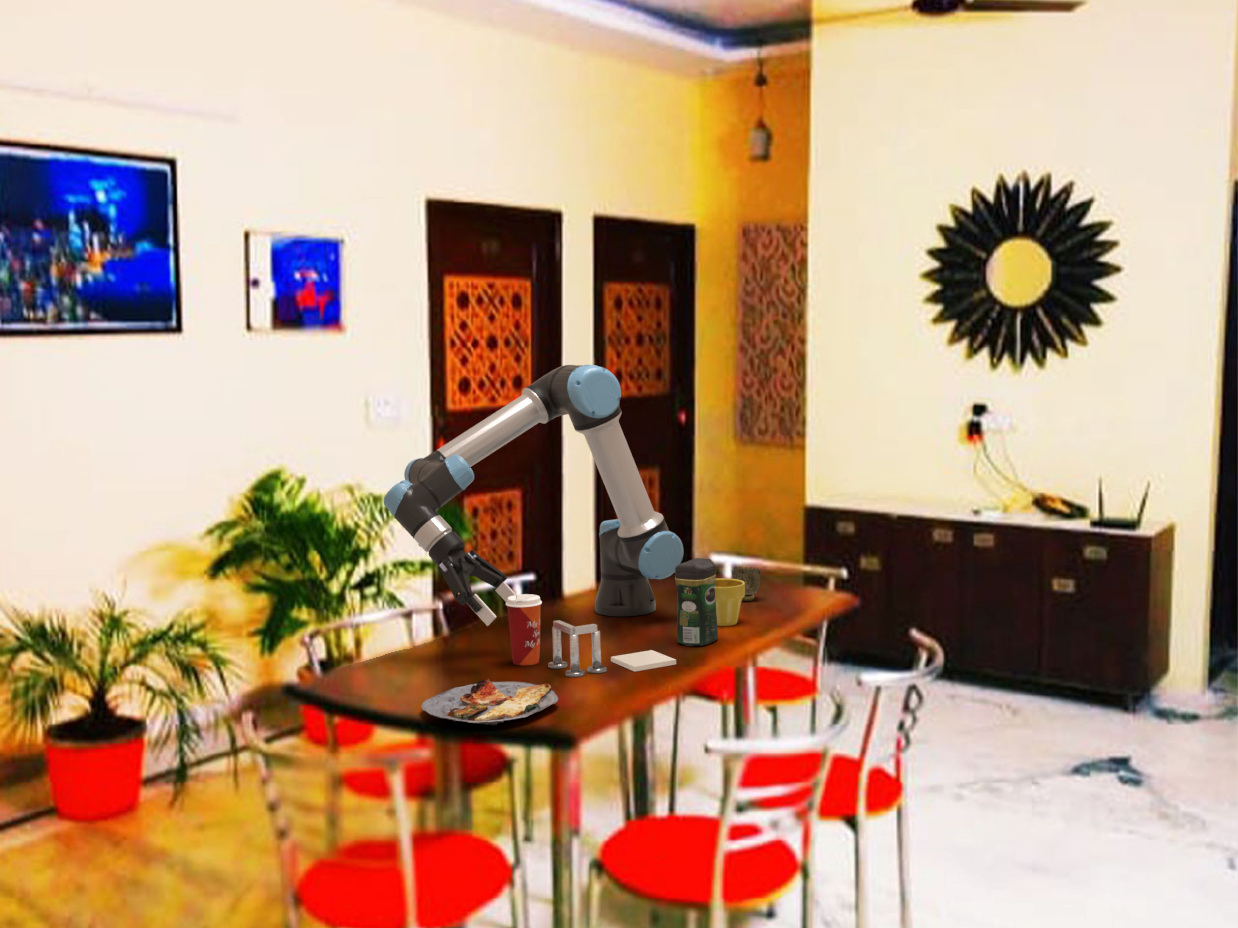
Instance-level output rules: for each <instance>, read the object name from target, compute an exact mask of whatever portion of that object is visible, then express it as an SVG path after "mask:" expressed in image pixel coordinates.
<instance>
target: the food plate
mask: <svg viewBox="0 0 1238 928" xmlns="http://www.w3.org/2000/svg"><path fill="white" fill-rule="evenodd" d="M559 699H560V698H559V696H558V695H557V693H556V691H555V690H553V689H552V685H551V684H550V683H544V684H536V683H535V684H534V683H531V682H525V681H513V680H511V681H509V680H508V681H491V679H490V678H487V680H485V679H480V680H478V681H477V682H476V683H473V684H471V683H470V684H467V685H464V686H458V687H457V686H456V687H452V688H450V689H447V690H445V691H443V692H440V693H438V694H436V695H433V696H432V697H430V698H427V699H425V700H424V701H423V702H422V704H421V709H422V711H423V712H426V713H428V714H429V715H431V716H433V717H436V718H440V719H447V720H449V721H451V720H452V721H453V722H457V721H458V722H465V723H468V724H469V723H471V724H478V725H487V726H488V725H491V726H494V725H498V724H499V723H504V721H512V720H518V719H523V718H527V717H529V716H530V715H533V714H535V713H538V712H541V711H543V710H544V709H546V708H548V707H550V706H551V705H553V704H554V705H555V704H556V703H557V702H558V701H559ZM451 710H453V711H452V712H453V714H451V713H452V712H451ZM449 714H451V715H452V716H451V715H449ZM470 719H471V720H470ZM472 719H473V720H472Z"/></svg>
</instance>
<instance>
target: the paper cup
mask: <svg viewBox="0 0 1238 928" xmlns="http://www.w3.org/2000/svg"><path fill="white" fill-rule="evenodd" d="M542 603H543V601H542V600H541V597H540V595H537V594H532V593H531V594H529V593H523V594H521V593H520V594H516V595H513V596H510V597H508V599H507V602H505V606H506V607H507V609H506V610H507V617H508V627H509V628H508V629H509V638H510V649H511V657H512V663H513V665H516V666H523V667H524V666H527V667H528V666H533V665H537V664H539V663H540V655H541V654H540V653H541V652H540V650H541V649H540V648H541V612H542V611H541V609H542Z"/></svg>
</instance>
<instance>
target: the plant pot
mask: <svg viewBox="0 0 1238 928" xmlns="http://www.w3.org/2000/svg"><path fill="white" fill-rule="evenodd" d="M744 596H745V583H744V582H743V581H741V580H737V579H733V578H716V580H715V599H716V615H717V626H718V627H730V626H735V625H737V623H738V621H739V615H740V611H741V605H742V598H743V597H744Z"/></svg>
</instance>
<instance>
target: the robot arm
mask: <svg viewBox="0 0 1238 928" xmlns="http://www.w3.org/2000/svg"><path fill="white" fill-rule="evenodd" d="M621 398H622V388H621V385H620V382H619V380H618V378H617V377H616V375H614V373H612V372H611V371H610V370H609V369H607V368H605V367H603V366H598V365H596V364H595V365H594V364H584V365H583V364H581V365H579V364H578V365H577V364H565V365H561V366H559V367H556V368H555V369H552V370H551V371H549V372H547V373H546V374H544V375H543V376H541V377H540V378H538V379H537V380H535V381H533V383H530V384H529V385H527V386H526V387H524V388H523V389H522V392H521V395H520V396H518V397H517V398H515V399H514V400H512V401H511V402H509V403H508V404H506V405H504V406H503V407H501V408H500V409H498V410H496V411H495V412H494V413H492V414H490V415H489V416H487V417H486V418H485V419H483V420H481V421H480V422H478V423H476V424H475V425H474V426H472V427H470V428H469V429H467V430H465V431H464V432H462V433H461V434H459V435H458V436H456V437H455V438H453V439H452V440H450V441H449V442H446V443H445V444H443V445H442V446H441V447H439V448H437V449H436V450H435V451H433V452H431V453H429V454H428V455H427V456H425V457H419V458H415V459H413V460H411V461H410V462H409V463H407V465H406V466H405V470H404V472H403V473H404V475H403V476H404V480H401V481H400V482H398V483H397V482H396V484H394V485H393V486H391V488H389V490H388V491H387V492H386V494H385V496H384V497H383V505H384V506H385V508H386V509H387V510H388V511H389V513H390V514H391V515H392V517H393V519H394V520H396V521H397V522H398V523H399V524H400V525H401V526H402V527H403V528H404V530H406V532H407V533H408V534H409V535H410V536H411V537H412V538H413V540H414V541H416V543H417V544H418V546H419V548H420V547H421V548H422V549H423V550H424V552H426V553H428V557H429V558H431V560H432V561H433V562H434V563H435V565H437V570H438V571H439V572H440V573H441V575H442V576H443V579H444V580H445V582H446V584H447V586H448V588H449V590H450V591H451V593H452V596H453V597H454V600H455V601H456V602H457V603H459V604H460V605H461V606H464V605H465V604H467V606H468V607H469V608H470V609H471V611H472V612H474V614H476V615H477V616H478V617H479V619H480V620H481V621H482V622H483V623H484V624H485V625H486V626H487V627H489V626H490V624H492V623H493V622H494V620H496V618H497V615H496V614H495V613H494V612H493V611H492V610H491V608H490V607H489V606H488V605H487V604H486V603H485V602H484V601H483V600H482V599H481V598H480V596H479V595H478V594H477V593H473V589H472V586H471V584H470V580H469V577H475V578H477V579H478V580H480V581H482V582H484V583H486V584H488V585H490V586H492V587H494V588H495V589H494V591H495V592H496V593H497V594H498V595H499V597H501V599H503V601H504V602H505V603H506V602H507V599H508V597H510V596H513V595H517V594H516V592H515V591H514V590H513V589H512V588H511V587H510V586H509V584H507V583H506V580H507V579H508V577H507V575H506V574H505V573H504V572H503V571H501V570H500V569H498V568H497V567H495V566H494V565H493V564H491V563H490V562H488V561H487V560H486V559H485V558H483V557H482V556H481V555H479V553H477V552H476V551H475V550H474V549H470V550H469V552H468V553H467V552H466V551H465V550H464V547H465V540H463V539H462V537H460V536H459V535H458V533H457V532H456V531H454V530H453V528H452V527H451V526H450V524H449V523H448V522H447V521H446V520H445V519H444V518H443V517H442V516H441V514H440V513H438V512H437V511H438V510H440V509H441V508H442V507H443V506H445V505H446V504H447V503H448V502H450V501H451V500H452V499H454V498H455V497H456V496H458V495H459V494H461V492H462V491H465V490H466V489H467V487H468V486H469V485H471V483H473V482H474V480H475V473H474V471H473V469H472V468H471V467H472V466H474V465H476V464H477V463H479V462H480V461H482V460H484V459H485V458H487V457H488V456H490V455H492V454H493V453H494V452H496V451H497V450H499V449H501V448H502V447H504V446H506V445H507V444H508V443H510V442H511V441H513V440H514V439H516V438H518V437H519V436H521V435H522V434H523V433H525V432H527V431H528V430H530V429H531V428H533V427H534V426H536V425H537V424H539V423H541V424H547V423H548V422H550V421H552V420H554V419H555V418H557V417H561V416H565V415H568V416H569V419H570V421H571V423H572V426H573V429H574V431H575V432H577V433H579V434H582V435H584V438H585V440H586V443H587V446H588V447H589V450H590V452H591V455H592V458H593V460H594V463H595V465H596V467H597V470H598V473H599V475H600V477H601V480H602V483H603V485H604V486H605V489H606V492H607V494H608V497H609V499H610V501H611V504H612V506H613V509H614V511H615V514H616V516H617V518H616V519H609V520H603V521H602V522H601V523H600V525H599V533H598V538H599V553H600V554H599V555H600V584H599V587H598V591H597V593H596V598H595V601H594V612H596V614H599V615H602V616H607V617H635V616H643V615H647V614H650V613H654V612H655V611H656V609H657V605H656V597H655V595H654V592H653V589H652V587H651V584H650V581H649V579H650V580H662V579H666V578H669V577H670V576H672V575H673V574H675V567H676V566H678V565H679V564H681V563H682V561H683V557H684V545H683V541H682V540H681V538H680V537H679V536H678V535H677V534H676V533H675V532H673V531H670V530H669V527H668V525H667V523H666V520H665V516H664V515H663V514H662V513H660V512H658V511H655V510H654V507H653V505H652V502H651V499H650V497H649V495H648V492H647V490H646V487H645V485H644V482H643V479H642V477H641V474H640V473H639V470H638V466H637V465H636V462H635V459H634V457H633V455H632V452H631V449H630V447H629V444H628V441H627V439H626V437H625V435H624V432H623V429H622V427H621V424H620V422H619V421H620V418H621V416H622V409H621V406H620V400H621Z"/></svg>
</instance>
